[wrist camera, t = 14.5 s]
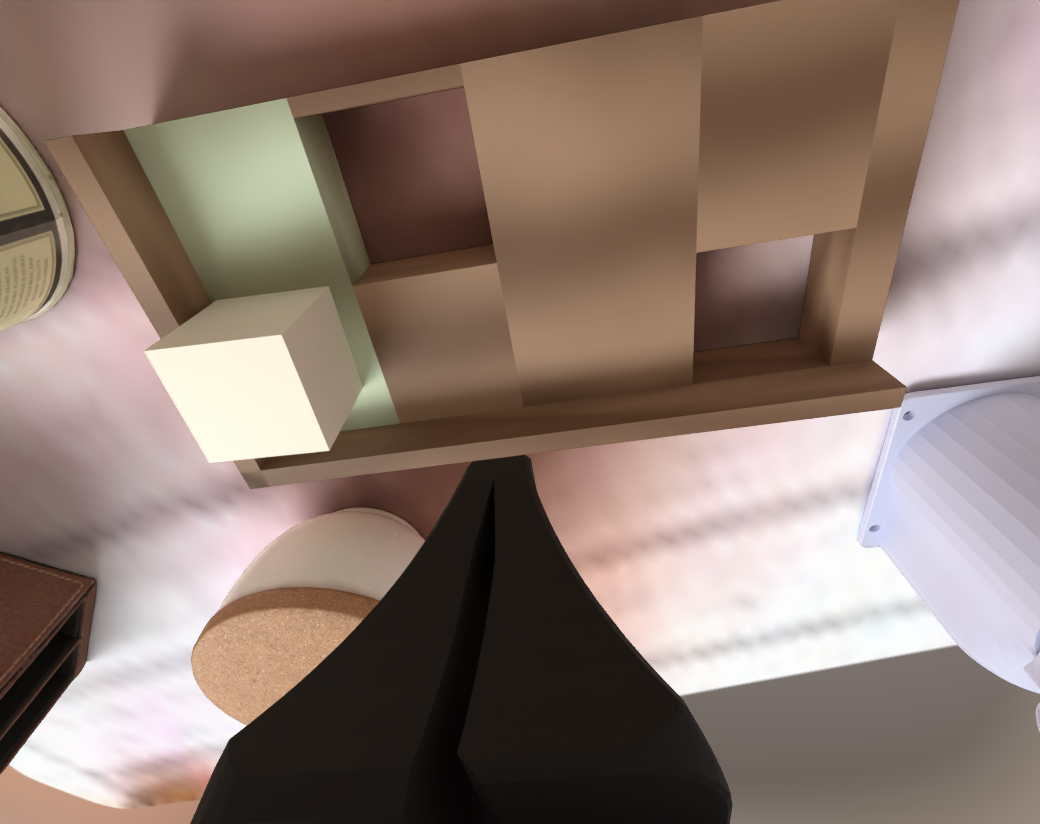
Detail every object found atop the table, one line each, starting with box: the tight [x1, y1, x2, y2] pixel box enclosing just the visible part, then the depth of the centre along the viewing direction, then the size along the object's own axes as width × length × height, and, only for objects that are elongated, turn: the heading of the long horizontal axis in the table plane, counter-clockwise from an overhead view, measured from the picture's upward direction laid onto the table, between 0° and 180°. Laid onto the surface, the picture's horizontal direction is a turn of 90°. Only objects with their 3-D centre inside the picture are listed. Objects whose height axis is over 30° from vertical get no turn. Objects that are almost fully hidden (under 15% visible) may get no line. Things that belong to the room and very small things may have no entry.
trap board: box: [44, 0, 959, 489], centre depth 17 cm, size 12×24×4 cm, turn 99°
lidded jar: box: [191, 507, 425, 725], centre depth 24 cm, size 11×11×9 cm
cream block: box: [144, 286, 363, 463], centre depth 17 cm, size 4×4×4 cm
